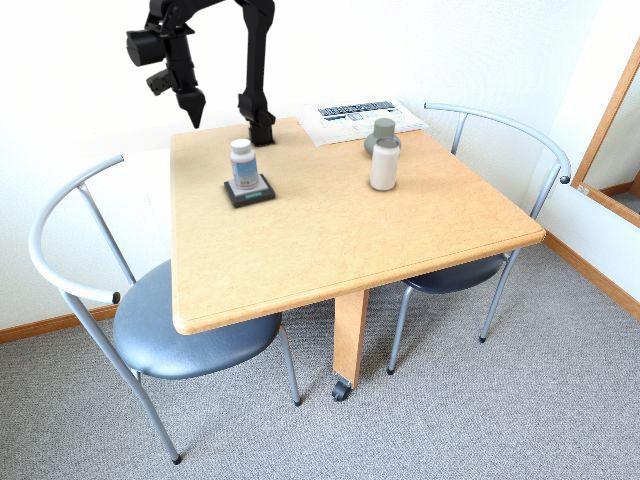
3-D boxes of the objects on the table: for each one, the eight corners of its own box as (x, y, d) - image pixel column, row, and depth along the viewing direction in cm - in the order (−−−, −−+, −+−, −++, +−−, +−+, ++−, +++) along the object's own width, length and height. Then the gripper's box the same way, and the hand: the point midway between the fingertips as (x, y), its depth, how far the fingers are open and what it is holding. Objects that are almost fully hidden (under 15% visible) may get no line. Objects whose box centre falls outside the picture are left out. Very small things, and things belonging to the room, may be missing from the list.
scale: (263, 178, 100) (262, 171, 98) (275, 198, 92) (275, 190, 91) (224, 187, 96) (223, 179, 95) (234, 208, 89) (233, 200, 88)
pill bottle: (263, 180, 95) (258, 139, 87) (250, 192, 91) (244, 150, 83) (243, 175, 97) (237, 135, 89) (230, 186, 92) (222, 145, 85)
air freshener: (392, 145, 114) (397, 114, 108) (403, 157, 108) (409, 125, 102) (359, 149, 112) (361, 118, 106) (369, 162, 106) (372, 129, 100)
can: (396, 180, 99) (402, 138, 91) (392, 193, 94) (398, 150, 86) (372, 176, 100) (377, 135, 92) (367, 189, 96) (371, 146, 88)
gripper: (139, 52, 90) (157, 114, 101) (145, 73, 77) (166, 142, 88) (185, 47, 94) (199, 107, 104) (199, 66, 81) (212, 133, 91)
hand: (193, 121), depth 97 cm, fingers open, 9 cm apart
